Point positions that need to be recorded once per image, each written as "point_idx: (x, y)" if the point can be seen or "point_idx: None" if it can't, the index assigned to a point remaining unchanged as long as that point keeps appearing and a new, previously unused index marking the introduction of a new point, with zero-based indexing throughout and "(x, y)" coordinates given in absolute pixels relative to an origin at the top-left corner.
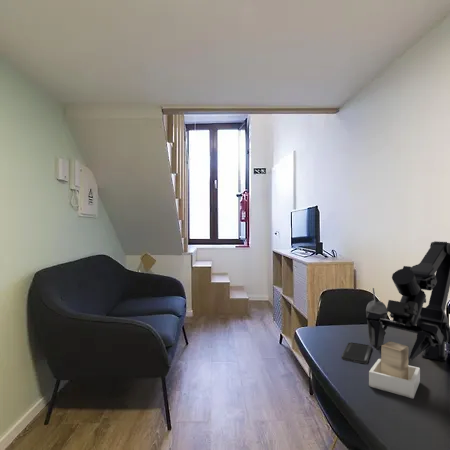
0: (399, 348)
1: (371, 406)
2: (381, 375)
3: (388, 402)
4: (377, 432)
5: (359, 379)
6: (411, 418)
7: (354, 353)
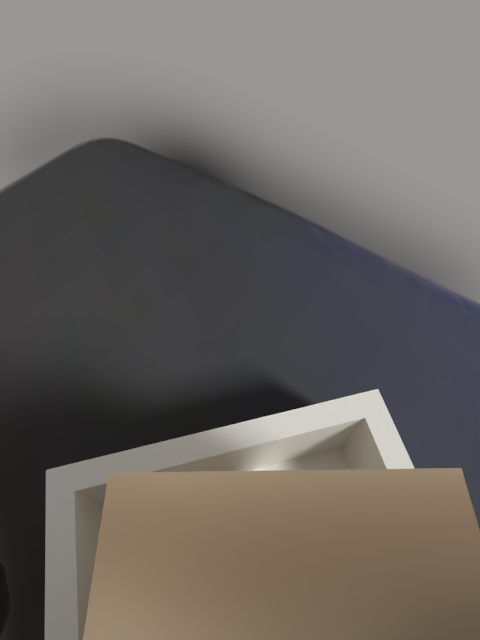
0: (160, 606)
1: (224, 262)
2: (287, 414)
3: (184, 343)
4: (135, 159)
5: None
6: (59, 296)
7: None
